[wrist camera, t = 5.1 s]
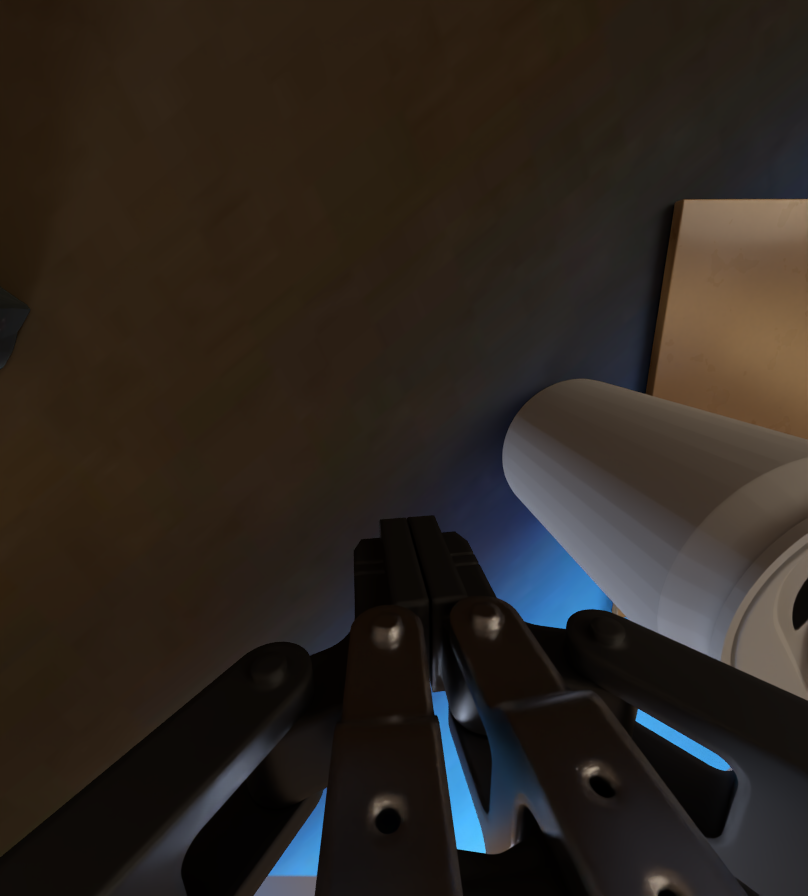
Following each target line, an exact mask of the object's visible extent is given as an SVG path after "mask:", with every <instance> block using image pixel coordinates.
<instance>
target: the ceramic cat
mask: <svg viewBox="0 0 808 896" xmlns="http://www.w3.org/2000/svg"><path fill="white" fill-rule="evenodd" d="M29 311H30V309H29V307H28V306H27V305H26V304H25V303H23V302H22V301H20V300H19V299H17V298H16V297H14V296H13V295H11V294H10V293H8V292H7V291H6V290H4V289H3V288H1V287H0V369H1V368H3V367H4V365H5V364H6V362H7V360H8V358H9V357H10V355H11V353H12V351H13V348H14V345H15V342H16V337H17V332H18V330H19V329H20V327H21V326H22V324H23V322H24V321H25V319H26V317H27V315H28V313H29Z"/></svg>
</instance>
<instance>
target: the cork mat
mask: <svg viewBox="0 0 808 896" xmlns="http://www.w3.org/2000/svg"><path fill="white" fill-rule="evenodd" d="M645 394H647V395H650V396H654V397H657V398H661V399H665V400H668V401H672V402H675V403H679V404H682V405H686V406H689V407H693V408H697V409H700V410H704V411H707V412H711V413H714V414H718V415H722V416H725V417H729V418H732V419H736V420H739V421H743V422H746V423H750V424H754V425H757V426H761V427H764V428H768V429H771V430H775V431H779V432H782V433H786V434H789V435H793V436H796V437H800V438H804V439H807V440H808V199H683V200H680V201H677V202H675V206H674V212H673V219H672V225H671V232H670V238H669V245H668V251H667V258H666V264H665V270H664V277H663V283H662V290H661V296H660V303H659V309H658V316H657V322H656V329H655V335H654V342H653V348H652V355H651V361H650V368H649V374H648V381H647V387H646V393H645ZM612 613H614V614H616V615H619V616H621V617H626V616H625V615H624V614H623V613H622V612H621V610H620V609H619V608H618V607H617V606H616V605H615V604H614V603H613V607H612Z"/></svg>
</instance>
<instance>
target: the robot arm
mask: <svg viewBox="0 0 808 896" xmlns="http://www.w3.org/2000/svg"><path fill="white" fill-rule="evenodd" d="M379 524H380V538H372V539H361V541H360V542H359V544H358V545H357V547H356V548H355V550H354V589H355V621H354V622H353V624H352V626H351V630H350V632H349V633H348V635H347V636H346V637H345V638H344V639H343V640H342V641H340V642H339V643H338V644H336V645H334V646H333V647H331V648H328V649H326V650H324V651H321V652H318V653H316V654H313V655H311V656H309V654H308V652H307V651H306V650H305V649H304V648H302V647H301V646H299V645H297V644H294V643H290V642H274V643H269V644H266V645H263V646H260V647H258V648H256V649H254V650H252V651H250V652H249V653H247V654H246V655H245V656H243V657H242V658H241V659H239V660H238V661H237V662H236V663H235V664H233V665H232V666H231V667H230V668H229V669H227V670H226V671H225V672H224V673H223V674H221V675H220V676H219V677H218V678H217V679H215V680H214V681H213V682H212V683H210V684H209V685H208V686H207V687H206V688H204V689H203V690H202V691H201V692H200V693H198V694H197V695H196V696H195V697H194V698H192V699H191V700H190V701H189V702H188V703H186V704H185V705H184V706H183V707H182V708H180V709H179V710H178V711H177V712H175V713H174V714H173V715H172V716H171V717H169V718H168V719H167V720H166V721H165V722H163V723H162V724H161V725H160V726H159V727H157V728H156V729H155V730H154V731H153V732H151V733H150V734H149V735H148V736H146V737H145V738H144V739H143V740H142V741H140V742H139V743H138V744H137V745H136V746H134V747H133V748H132V749H131V750H130V751H128V752H127V753H126V754H125V755H124V756H122V757H121V758H120V759H119V760H117V761H116V762H115V763H114V764H113V765H111V766H110V767H109V768H108V769H107V770H105V771H104V772H103V773H102V774H101V775H99V776H98V777H97V778H96V779H95V780H93V781H92V782H91V783H90V784H89V785H87V786H86V787H85V788H84V789H82V790H81V791H80V792H79V793H78V794H76V795H75V796H74V797H73V798H72V799H70V800H69V801H68V802H67V803H66V804H64V805H63V806H62V807H61V808H60V809H58V810H57V811H56V812H55V813H53V814H52V815H51V816H50V817H49V818H47V819H46V820H45V821H44V822H43V823H41V824H40V825H39V826H38V827H37V828H35V829H34V830H33V831H32V832H31V833H29V834H28V835H27V836H26V837H25V838H23V839H22V840H21V841H20V842H18V843H17V844H16V845H15V846H14V847H12V848H11V849H10V850H9V851H8V852H6V853H5V854H4V855H3V856H2V857H0V896H254V894H255V893H256V891H257V890H258V888H259V887H260V886H261V884H262V883H263V881H264V880H265V878H266V877H267V876H268V874H269V873H270V871H271V870H272V868H273V867H274V866H275V864H276V863H277V861H278V860H279V859H280V857H281V856H282V854H283V853H284V851H285V850H286V849H287V847H288V846H289V844H290V843H291V841H292V840H293V839H294V837H295V836H296V834H297V833H298V831H299V830H300V829H301V827H302V826H303V824H304V823H305V821H306V820H307V819H308V817H309V816H310V814H311V813H312V811H313V810H314V809H315V807H316V805H317V804H318V802H319V800H320V798H321V796H322V793H323V790H324V789H325V788H327V794H326V803H325V812H324V820H323V829H322V838H321V846H320V855H319V863H318V872H317V881H316V890H315V896H808V700H805V699H803V698H801V697H799V696H796V695H794V694H792V693H790V692H788V691H785V690H783V689H781V688H779V687H777V686H774V685H772V684H770V683H768V682H765V681H763V680H761V679H759V678H757V677H754V676H752V675H750V674H748V673H745V672H743V671H741V670H739V669H737V668H734V667H732V666H730V665H728V664H726V663H723V662H721V661H719V660H717V659H714V658H712V657H710V656H708V655H706V654H703V653H701V652H699V651H697V650H694V649H692V648H690V647H688V646H686V645H683V644H681V643H679V642H677V641H675V640H672V639H670V638H668V637H666V636H663V635H661V634H659V633H657V632H655V631H652V630H650V629H648V628H646V627H643V626H641V625H639V624H637V623H635V622H632V621H630V620H628V619H626V618H624V617H621V616H619V615H616V614H614V613H611V612H607V611H603V610H595V609H589V610H582V611H578V612H576V613H574V614H573V615H572V616H570V618H569V619H568V621H567V625H566V629H561V628H553V627H546V626H539V625H534V624H530V623H527V622H524V621H523V619H522V618H521V616H520V615H519V613H518V612H517V611H516V610H515V609H514V608H513V607H512V606H511V605H510V604H508V603H507V602H505V601H503V600H501V599H498V598H497V597H496V596H495V594H494V592H493V590H492V588H491V586H490V584H489V582H488V580H487V578H486V576H485V574H484V572H483V570H482V568H481V566H480V565H479V564H478V561H477V559H476V557H475V555H473V551H472V549H471V547H470V545H469V543H468V541H467V540H466V539H464V538H463V537H461V536H460V535H459V534H457V533H456V532H443V533H441V530H440V528H439V526H438V523H437V521H436V518H435V516H434V515H431V516H419V517H408V518H407V519H406V518H394V519H382V520H380V521H379ZM429 678H430V679H429ZM430 683H431V687H432V692H439V691H446V695H447V699H448V703H449V715H448V721H449V728H450V732H451V735H452V738H453V741H454V744H455V747H456V751H457V754H458V757H459V760H460V763H461V766H462V769H463V772H464V775H465V779H466V782H467V785H468V788H469V791H470V794H471V797H472V800H473V803H474V806H475V810H476V813H477V816H478V819H479V822H480V825H481V829H482V833H483V838H484V843H485V849H486V854H484V853H478V852H471V851H465V850H458V849H457V848H456V840H455V833H454V826H453V819H452V811H451V804H450V797H449V790H448V782H447V775H446V768H445V761H444V753H443V746H442V739H441V732H440V726H439V720H438V717H437V715H435V716H434V710H433V702H432V695H431V687H430ZM638 709H640V710H642V711H643V712H645V713H647V714H649V715H650V716H652V717H654V718H655V719H657V720H659V721H661V722H662V723H664V724H666V725H668V726H669V727H671V728H673V729H675V730H676V731H678V732H680V733H681V734H683V735H685V736H687V737H688V738H690V739H692V740H694V741H695V742H697V743H699V744H701V745H702V746H704V747H706V748H707V749H709V750H711V751H713V752H714V753H716V754H717V755H719V756H720V757H721V758H723V759H724V760H725V761H726V762H727V763H728V764H729V765H730V767H731V768H732V769H733V770H732V771H723V770H719V769H716V768H714V767H712V766H710V765H708V764H706V763H705V762H703V761H701V760H700V759H698V758H696V757H695V756H693V755H691V754H690V753H688V752H686V751H684V750H683V749H681V748H679V747H678V746H676V745H674V744H673V743H671V742H669V741H668V740H666V739H664V738H663V737H661V736H659V735H658V734H656V733H654V732H653V731H651V730H649V729H648V728H646V727H644V726H643V725H641V724H639V723H638V722H636V721H635V720H636V715H637V710H638Z"/></svg>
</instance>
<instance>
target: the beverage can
mask: <svg viewBox="0 0 808 896" xmlns="http://www.w3.org/2000/svg"><path fill="white" fill-rule="evenodd" d="M502 460H503V469H504V474H505V477H506V479H507V482H508V484H509V486H510V488H511V489H512V491H513V492H514V494H515V495H516V496H517V497H518V498H519V499H520V500H521V501H522V503H523V504H524V505H525V506H526V507H527V508H528V509H529V510H530V511H531V513H532V514H533V515H534V516H535V517H536V518H537V519H538V520H539V521H540V522H541V524H542V525H543V526H544V527H545V528H546V529H547V530H548V531H549V532H550V533H551V535H552V536H553V537H554V538H555V539H556V540H557V541H558V542H559V543H560V544H561V546H562V547H563V548H564V549H565V550H566V551H567V552H568V553H569V554H570V555H571V557H572V558H573V559H574V560H575V561H576V562H577V563H578V564H579V565H580V566H581V568H582V569H583V570H584V571H585V572H586V573H587V574H588V575H589V576H590V577H591V579H592V580H593V581H594V582H595V583H596V584H597V585H598V586H599V587H600V588H601V590H602V591H603V592H604V593H605V594H606V595H607V596H608V597H609V598H610V599H611V601H612V602H613V603H614V604H615V605H616V606H617V607H618V608H619V609H620V610H621V612H622V613H623V614H624V615H625V616H626V617H627V618H628V619H629V620H630V621H632V622H635V623H637V624H639V625H641V626H643V627H646V628H648V629H650V630H652V631H655V632H657V633H659V634H661V635H663V636H666V637H668V638H670V639H672V640H675V641H677V642H679V643H681V644H683V645H686V646H688V647H690V648H692V649H694V650H697V651H699V652H701V653H703V654H706V655H708V656H710V657H712V658H714V659H717V660H719V661H721V662H723V663H726V664H728V665H730V666H732V667H734V668H737V669H739V670H741V671H743V672H745V673H748V674H750V675H752V676H754V677H757V678H759V679H761V680H763V681H765V682H768V683H770V684H772V685H774V686H777V687H779V688H781V689H783V690H785V691H788V692H790V693H792V694H794V695H796V696H799V697H801V698H803V699H805V700H808V440H807V439H804V438H800V437H796V436H793V435H789V434H786V433H782V432H779V431H775V430H771V429H768V428H764V427H761V426H757V425H754V424H750V423H746V422H743V421H739V420H736V419H732V418H729V417H725V416H722V415H718V414H714V413H711V412H707V411H704V410H700V409H697V408H693V407H689V406H686V405H682V404H679V403H675V402H672V401H668V400H665V399H661V398H657V397H654V396H650V395H647V394H643V393H640V392H636V391H632V390H629V389H625V388H622V387H618V386H615V385H611V384H608V383H604V382H600V381H595V380H590V379H572V380H566V381H563V382H559V383H556V384H554V385H552V386H549V387H547V388H545V389H544V390H542V391H540V392H539V393H537V394H536V395H535V396H533V397H532V398H531V399H530V400H529V401H528V402H527V403H526V404H525V405H524V406H523V407H522V408H521V409H520V410H519V412H518V413H517V414H516V416H515V417H514V419H513V421H512V423H511V424H510V427H509V429H508V431H507V434H506V437H505V441H504V446H503V456H502Z"/></svg>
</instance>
